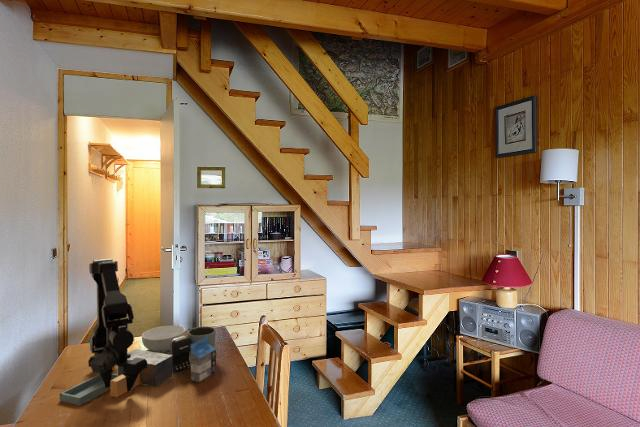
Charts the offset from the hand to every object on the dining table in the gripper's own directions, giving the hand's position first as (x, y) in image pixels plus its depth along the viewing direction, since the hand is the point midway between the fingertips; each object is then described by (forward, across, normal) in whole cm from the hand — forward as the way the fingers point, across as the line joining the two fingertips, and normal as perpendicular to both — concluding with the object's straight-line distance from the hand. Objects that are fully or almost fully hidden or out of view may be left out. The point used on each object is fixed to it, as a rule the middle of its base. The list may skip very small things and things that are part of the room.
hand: (118, 389), depth 129 cm
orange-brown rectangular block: (+2, 0, +4) cm, 5 cm away
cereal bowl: (+1, -13, +36) cm, 38 cm away
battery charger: (+2, +7, +22) cm, 23 cm away
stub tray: (+1, -9, -1) cm, 9 cm away
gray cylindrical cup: (+2, +10, +30) cm, 31 cm away
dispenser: (+1, 0, +12) cm, 12 cm away
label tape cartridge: (+2, +18, +20) cm, 26 cm away
